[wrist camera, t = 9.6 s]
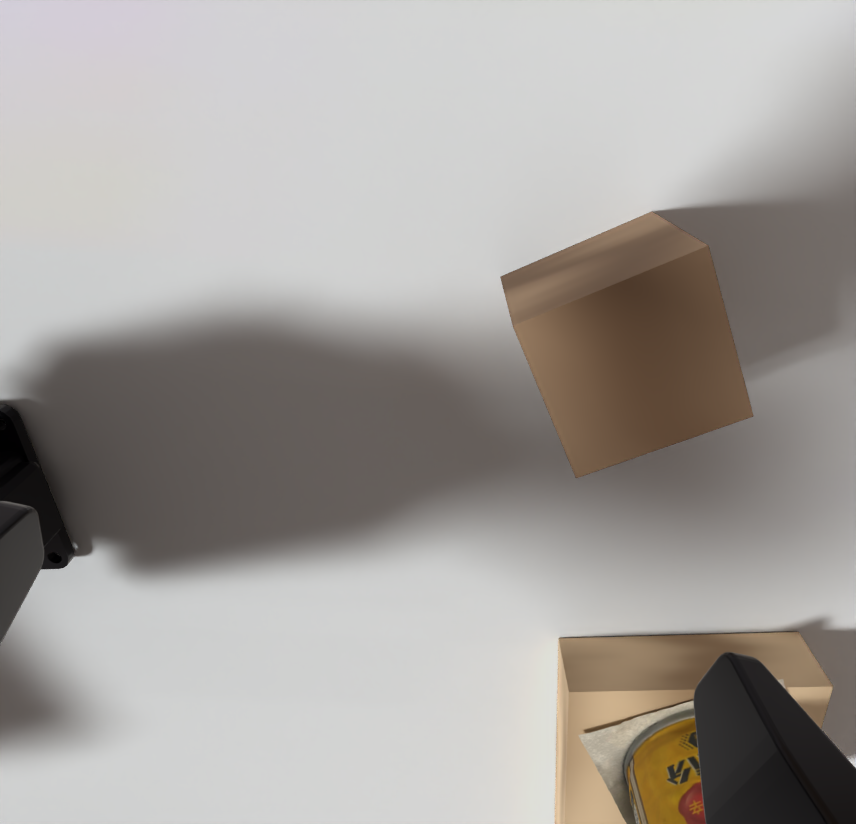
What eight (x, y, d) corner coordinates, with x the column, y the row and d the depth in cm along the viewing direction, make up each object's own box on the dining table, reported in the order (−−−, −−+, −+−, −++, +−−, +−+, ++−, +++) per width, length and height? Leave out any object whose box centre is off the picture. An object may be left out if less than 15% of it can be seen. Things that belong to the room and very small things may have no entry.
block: (552, 402, 21) (576, 478, 17) (499, 276, 19) (513, 325, 15) (692, 349, 20) (753, 416, 16) (651, 211, 18) (708, 245, 14)
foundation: (554, 851, 31) (572, 994, 26) (558, 638, 25) (584, 772, 20) (745, 850, 31) (801, 996, 26) (798, 631, 24) (885, 768, 19)
